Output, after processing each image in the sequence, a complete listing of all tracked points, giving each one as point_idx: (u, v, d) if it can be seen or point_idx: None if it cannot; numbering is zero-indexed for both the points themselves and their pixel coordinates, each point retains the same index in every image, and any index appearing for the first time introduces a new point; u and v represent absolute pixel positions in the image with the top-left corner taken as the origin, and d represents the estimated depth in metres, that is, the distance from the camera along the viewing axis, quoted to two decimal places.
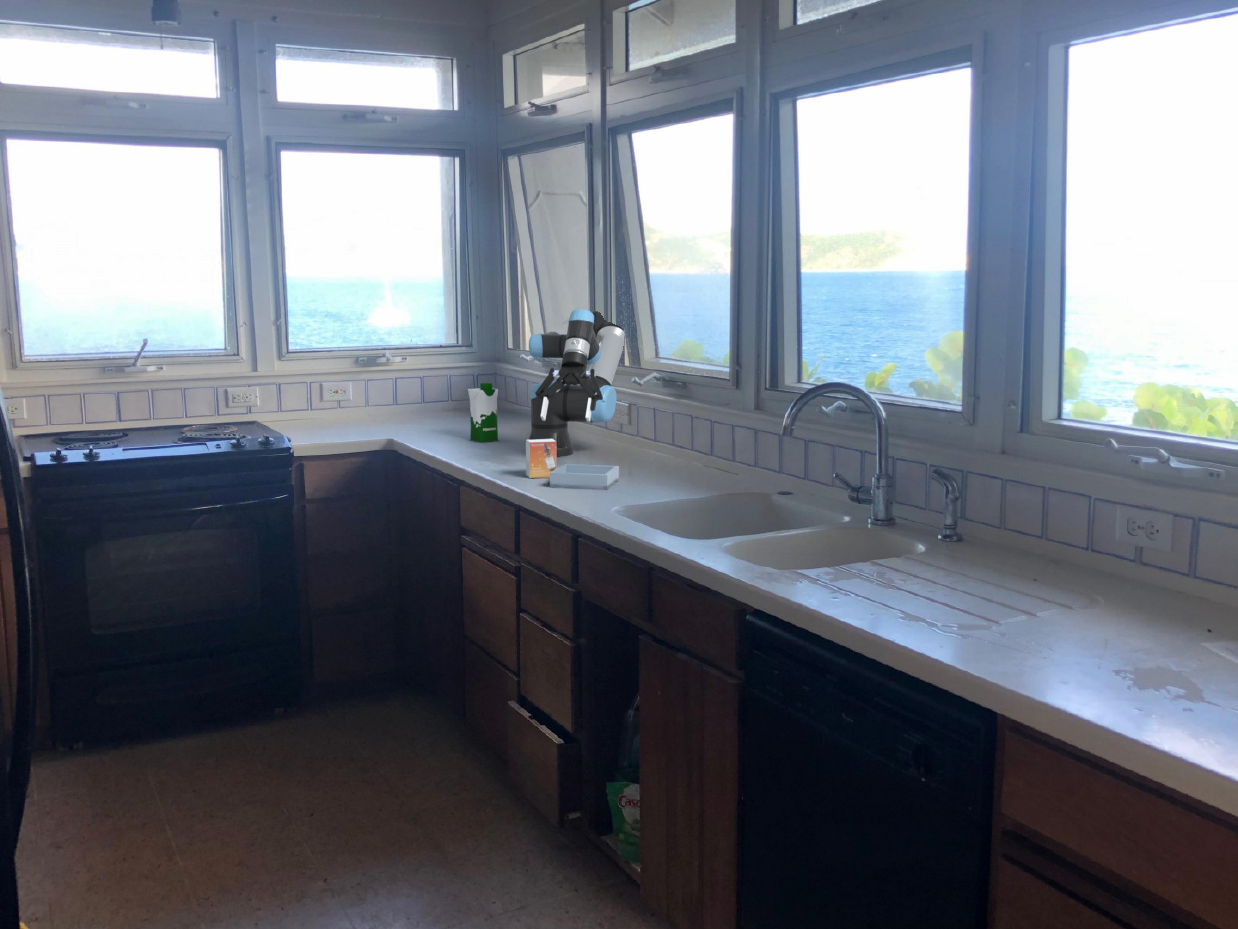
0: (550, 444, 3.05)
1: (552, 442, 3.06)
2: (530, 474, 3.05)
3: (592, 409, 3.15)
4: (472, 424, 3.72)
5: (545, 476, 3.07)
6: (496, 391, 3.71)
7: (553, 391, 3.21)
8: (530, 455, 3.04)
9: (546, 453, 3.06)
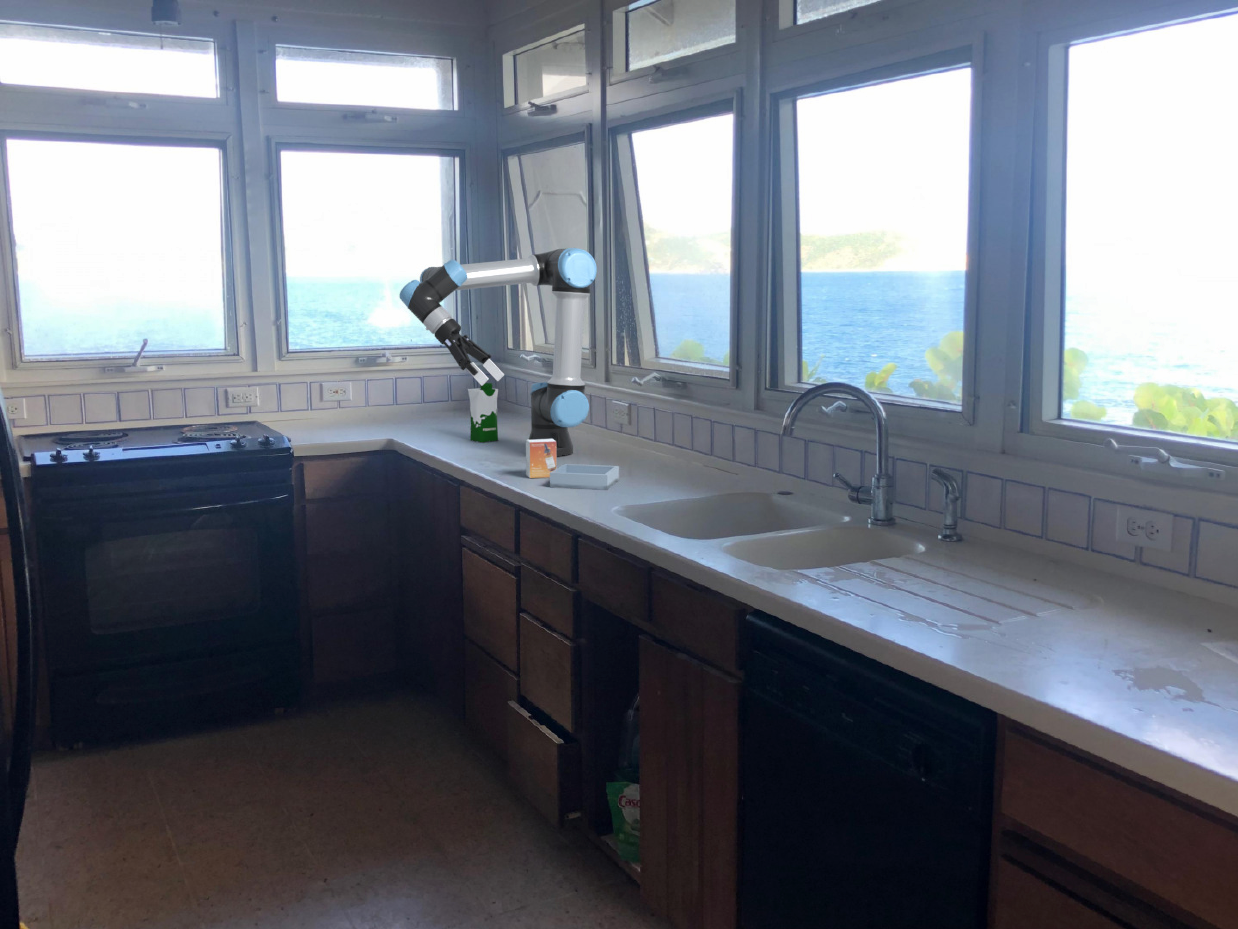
0: (550, 444, 3.05)
1: (552, 442, 3.06)
2: (530, 474, 3.05)
3: (475, 373, 3.02)
4: (472, 424, 3.72)
5: (545, 476, 3.07)
6: (496, 391, 3.71)
7: (478, 354, 3.14)
8: (530, 455, 3.04)
9: (546, 453, 3.06)
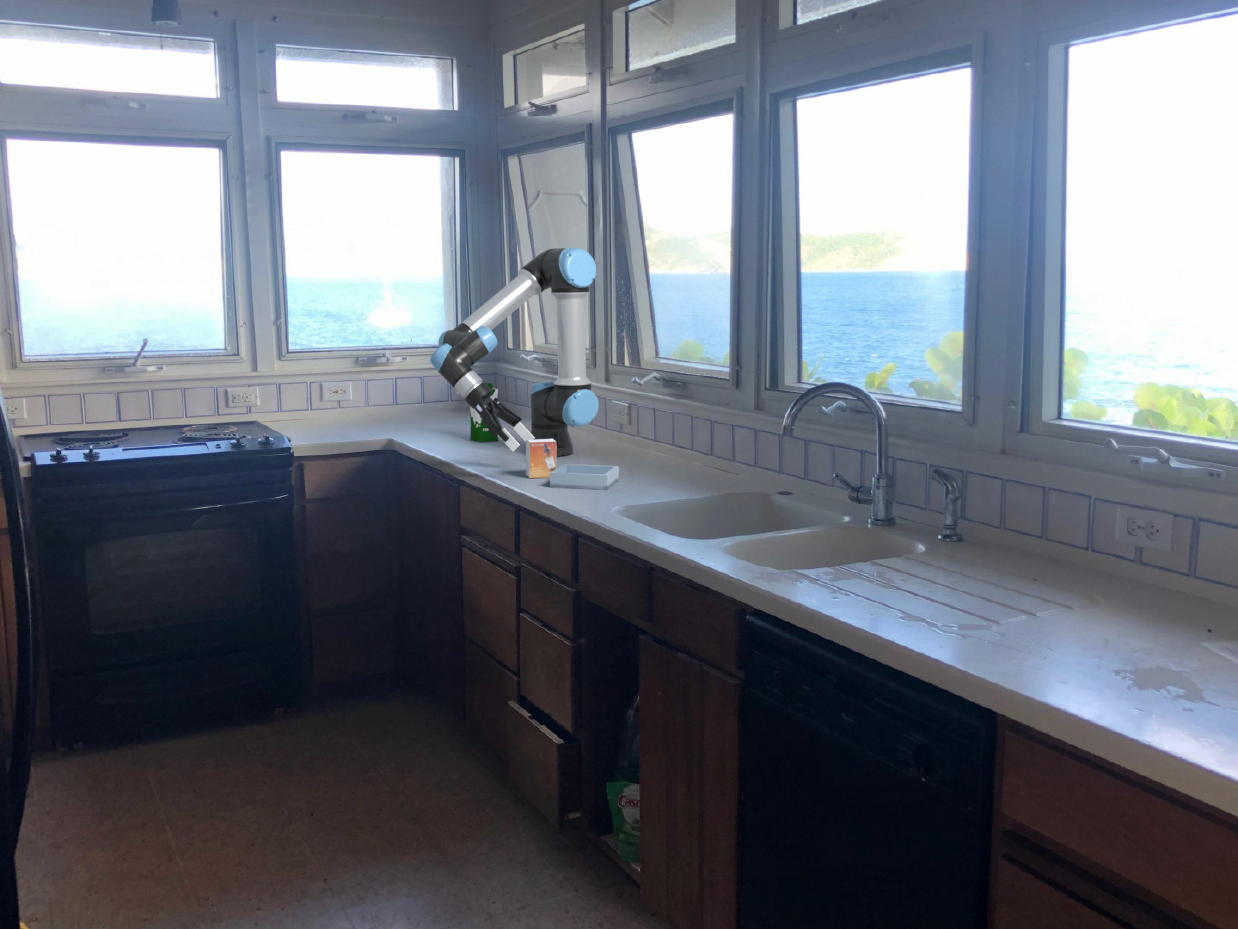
0: (550, 444, 3.05)
1: (552, 442, 3.06)
2: (530, 474, 3.05)
3: (507, 440, 3.00)
4: (472, 424, 3.72)
5: (545, 476, 3.07)
6: (496, 391, 3.71)
7: (508, 417, 3.13)
8: (530, 455, 3.04)
9: (546, 453, 3.06)
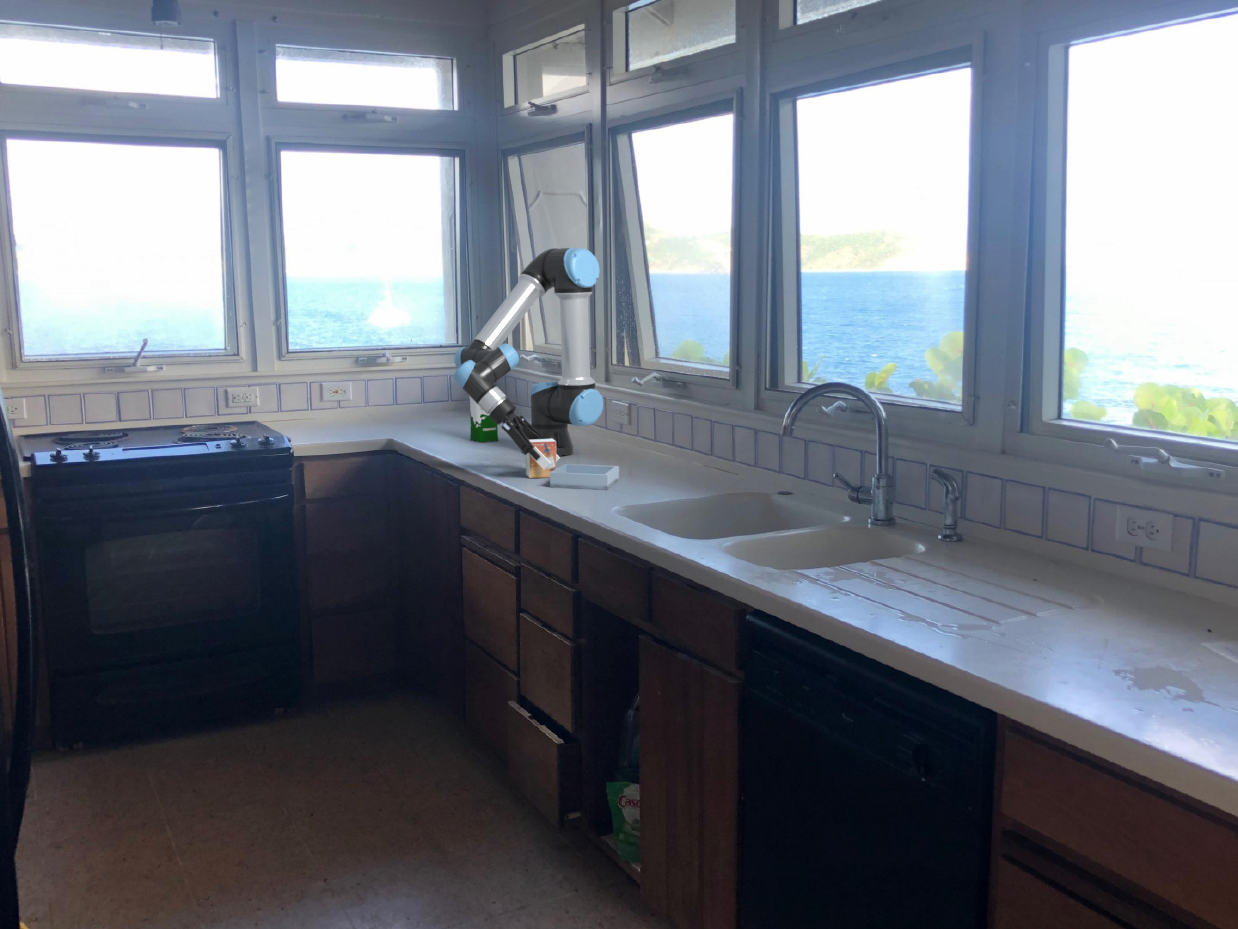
0: (550, 444, 3.05)
1: (552, 442, 3.05)
2: (530, 474, 3.05)
3: (538, 458, 3.03)
4: (472, 424, 3.72)
5: (545, 476, 3.07)
6: None
7: (532, 436, 3.11)
8: None
9: (546, 453, 3.05)
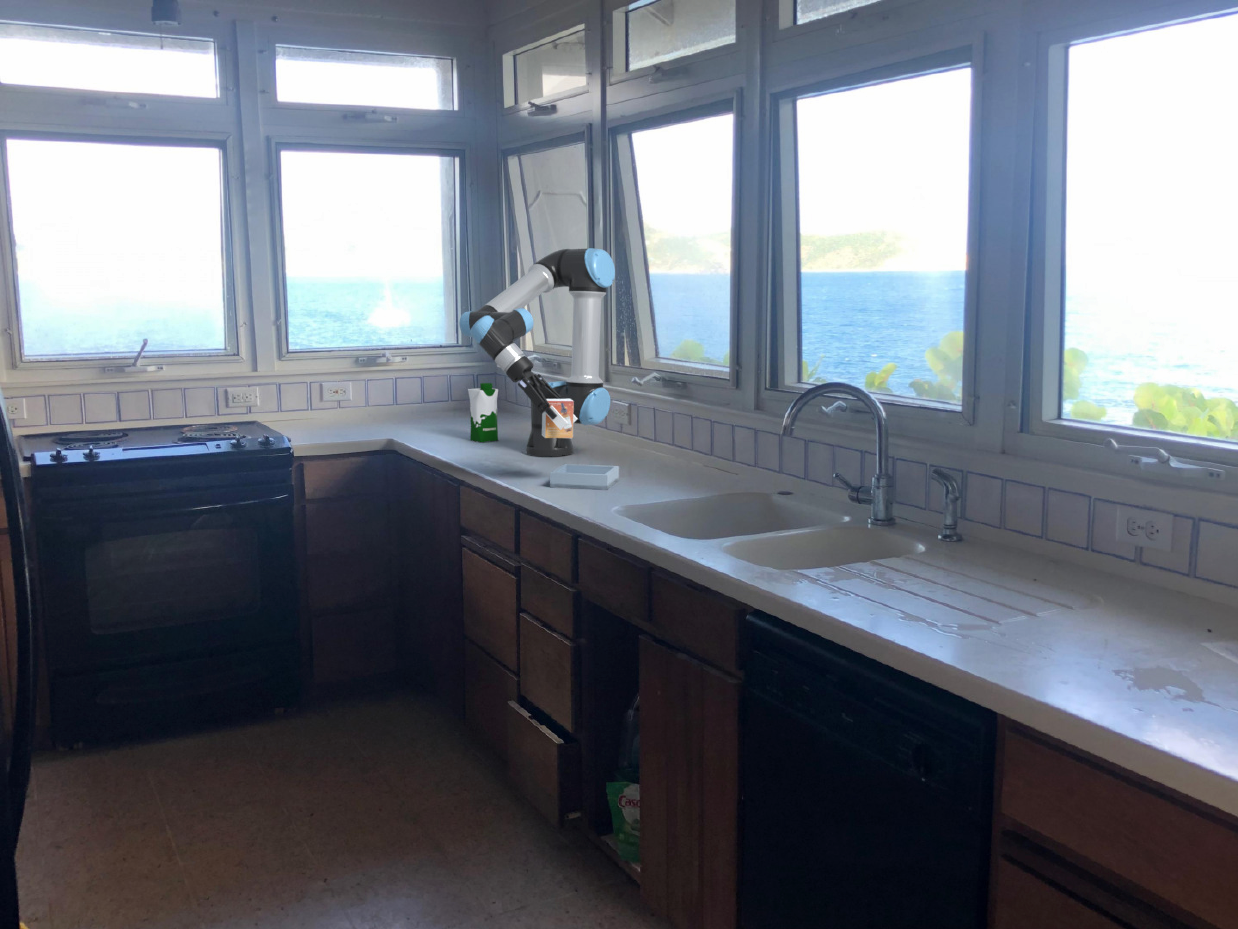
0: (567, 403, 2.96)
1: (569, 401, 2.96)
2: (545, 434, 2.96)
3: (554, 417, 2.93)
4: (472, 424, 3.72)
5: (561, 436, 2.97)
6: (496, 391, 3.71)
7: (550, 395, 3.02)
8: (546, 414, 2.95)
9: (563, 412, 2.96)
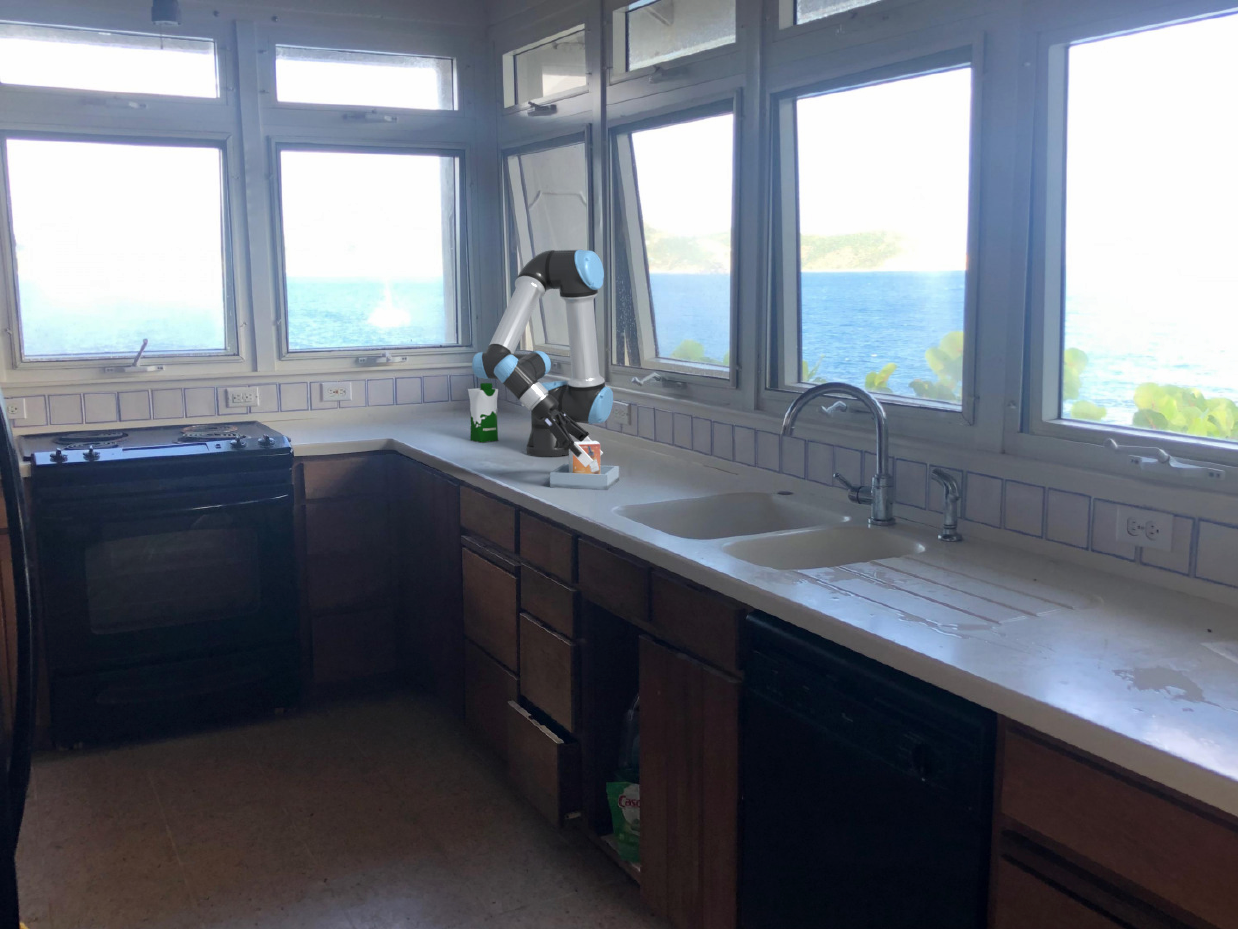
0: (594, 446, 2.94)
1: (596, 444, 2.94)
2: None
3: (579, 455, 2.90)
4: (472, 424, 3.72)
5: None
6: (496, 391, 3.71)
7: (575, 431, 3.01)
8: (573, 457, 2.94)
9: (590, 456, 2.95)
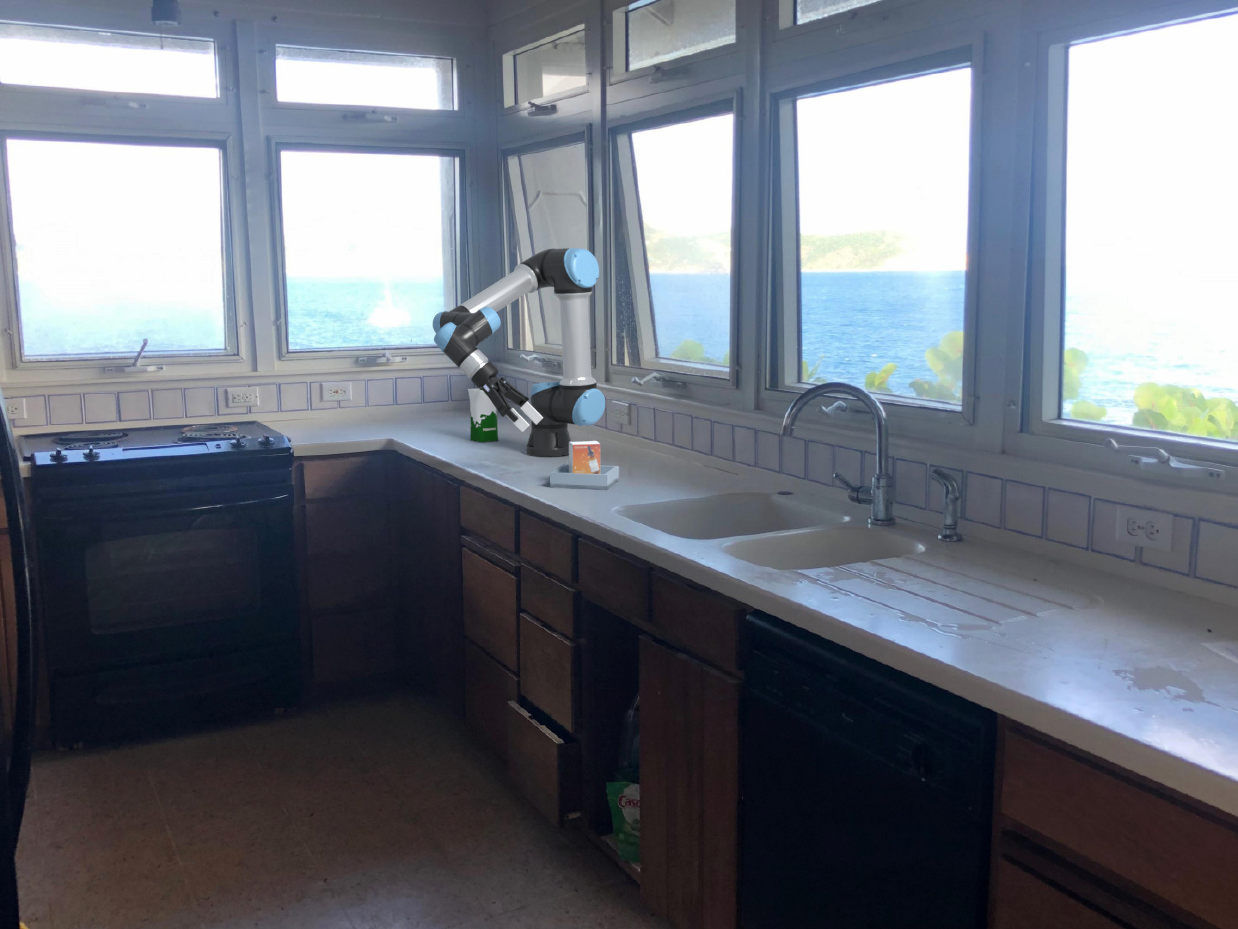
0: (594, 446, 2.94)
1: (596, 444, 2.94)
2: None
3: (516, 420, 2.92)
4: (472, 424, 3.72)
5: None
6: None
7: (515, 397, 3.04)
8: (573, 457, 2.94)
9: (590, 456, 2.95)
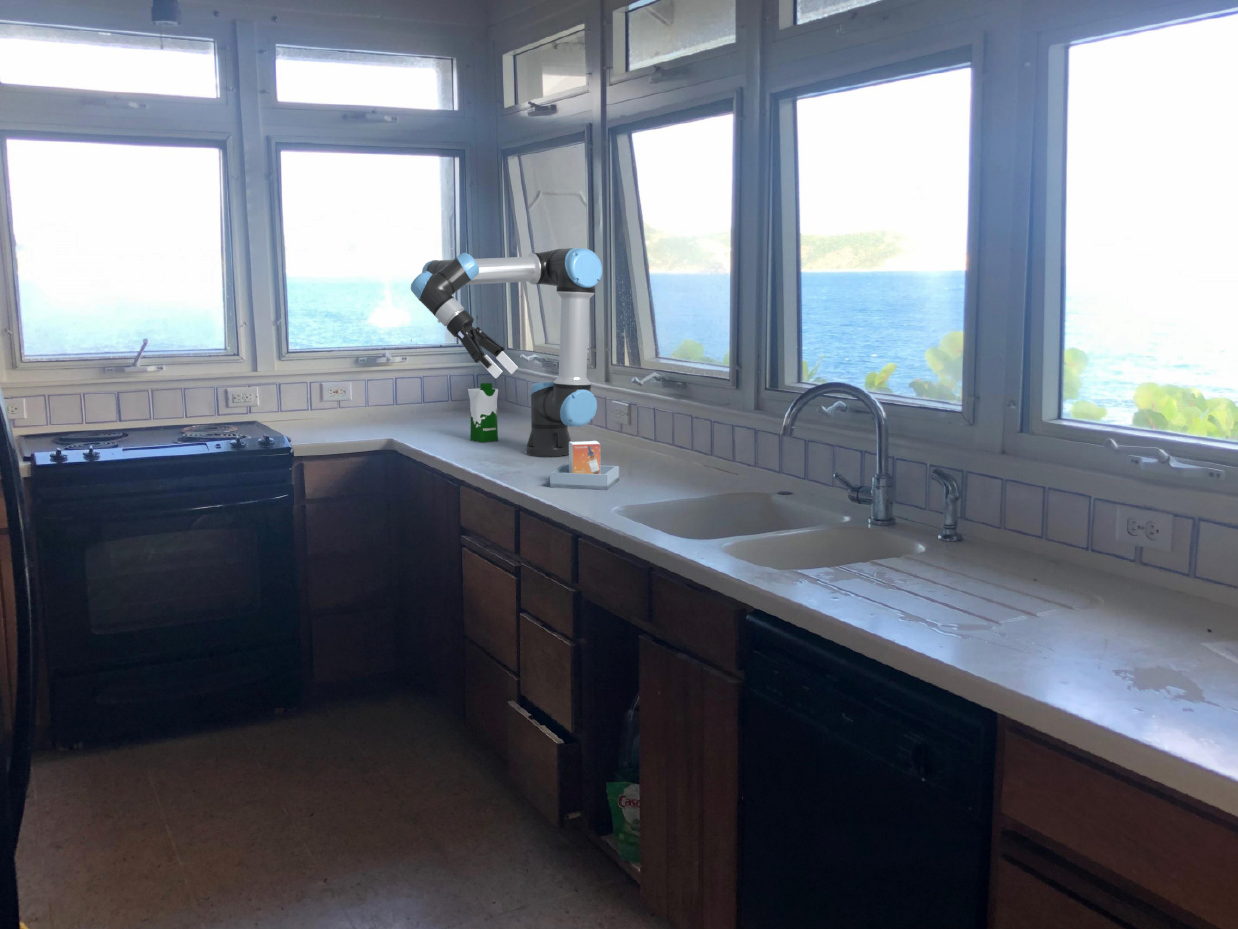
0: (594, 446, 2.94)
1: (596, 444, 2.94)
2: None
3: (489, 366, 2.96)
4: (472, 424, 3.72)
5: None
6: (496, 391, 3.71)
7: (491, 346, 3.08)
8: (573, 457, 2.94)
9: (590, 456, 2.95)
